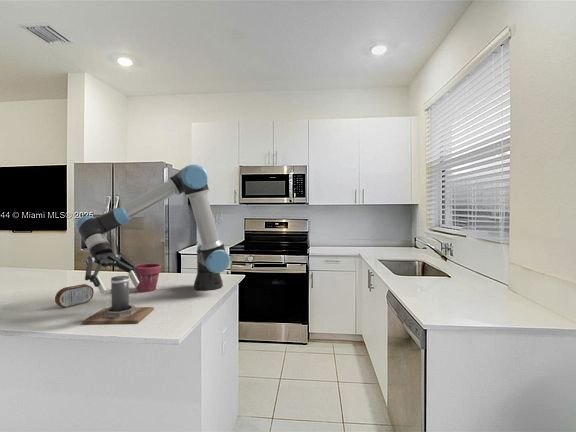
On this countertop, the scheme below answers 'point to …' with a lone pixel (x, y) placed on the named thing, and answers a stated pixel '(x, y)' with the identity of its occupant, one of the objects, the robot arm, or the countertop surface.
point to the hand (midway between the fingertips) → (121, 288)
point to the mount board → (118, 320)
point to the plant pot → (147, 277)
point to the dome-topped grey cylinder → (120, 293)
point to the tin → (74, 295)
